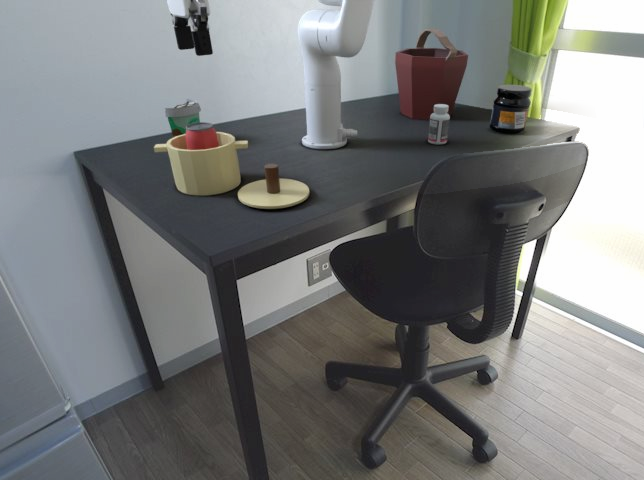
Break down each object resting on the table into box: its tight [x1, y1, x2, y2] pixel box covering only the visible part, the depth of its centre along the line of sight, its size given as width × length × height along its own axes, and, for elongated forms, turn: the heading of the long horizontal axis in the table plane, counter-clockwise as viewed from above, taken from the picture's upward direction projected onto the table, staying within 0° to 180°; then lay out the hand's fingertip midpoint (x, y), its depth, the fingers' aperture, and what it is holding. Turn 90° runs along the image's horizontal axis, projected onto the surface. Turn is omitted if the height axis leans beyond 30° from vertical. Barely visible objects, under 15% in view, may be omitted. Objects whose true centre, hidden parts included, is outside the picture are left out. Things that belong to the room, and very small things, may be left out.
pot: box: [153, 131, 249, 197], centre depth 98 cm, size 14×19×10 cm
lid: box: [237, 163, 310, 210], centre depth 93 cm, size 15×15×7 cm
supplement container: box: [489, 84, 532, 135], centre depth 134 cm, size 10×10×12 cm
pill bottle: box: [427, 104, 451, 145], centre depth 124 cm, size 5×5×10 cm
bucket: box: [394, 28, 469, 121], centre depth 146 cm, size 24×22×25 cm
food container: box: [164, 98, 202, 138], centre depth 123 cm, size 12×6×10 cm, turn 168°
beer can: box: [186, 121, 219, 150], centre depth 97 cm, size 7×7×12 cm
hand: (195, 51), depth 88 cm, fingers open, 9 cm apart
